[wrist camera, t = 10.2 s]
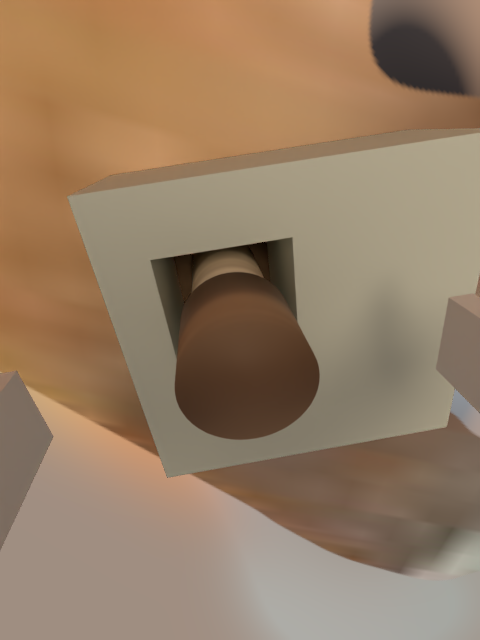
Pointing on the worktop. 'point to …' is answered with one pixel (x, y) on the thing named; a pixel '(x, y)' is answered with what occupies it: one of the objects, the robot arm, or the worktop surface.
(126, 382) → the worktop surface
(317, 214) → the seat board
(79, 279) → the worktop surface
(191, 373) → the peg
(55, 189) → the worktop surface
